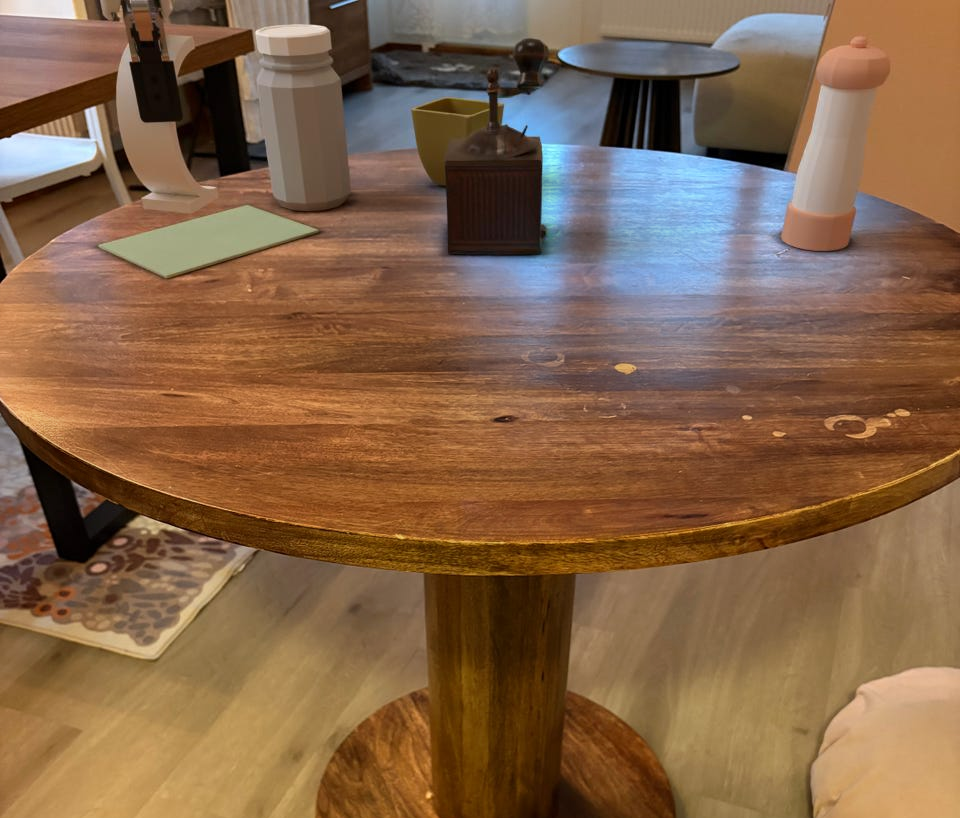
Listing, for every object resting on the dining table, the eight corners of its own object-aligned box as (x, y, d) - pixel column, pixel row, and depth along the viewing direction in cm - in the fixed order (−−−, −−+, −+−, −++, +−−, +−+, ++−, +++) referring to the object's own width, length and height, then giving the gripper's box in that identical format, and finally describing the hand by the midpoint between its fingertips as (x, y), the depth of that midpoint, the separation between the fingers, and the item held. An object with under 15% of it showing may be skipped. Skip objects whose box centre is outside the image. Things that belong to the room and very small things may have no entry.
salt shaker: (792, 226, 106) (833, 29, 93) (856, 236, 103) (907, 34, 90) (772, 244, 101) (812, 39, 89) (838, 255, 98) (889, 45, 86)
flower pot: (448, 171, 124) (446, 95, 118) (504, 179, 121) (505, 102, 115) (413, 187, 118) (409, 108, 112) (471, 196, 115) (470, 116, 109)
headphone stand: (218, 197, 81) (193, 36, 73) (186, 217, 76) (155, 48, 69) (171, 192, 82) (141, 32, 74) (136, 212, 77) (100, 44, 69)
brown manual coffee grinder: (547, 255, 99) (555, 61, 87) (445, 255, 99) (439, 61, 87) (543, 211, 111) (550, 34, 99) (452, 211, 111) (448, 35, 99)
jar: (290, 218, 109) (266, 39, 97) (262, 197, 115) (236, 27, 104) (364, 205, 113) (350, 31, 101) (333, 185, 119) (316, 20, 107)
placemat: (166, 278, 94) (166, 275, 94) (98, 247, 102) (98, 244, 101) (319, 232, 105) (318, 229, 105) (247, 207, 112) (247, 204, 112)
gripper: (56, -182, 68) (114, 91, 80) (39, -187, 56) (111, 137, 67) (160, -179, 70) (202, 88, 81) (167, -183, 57) (215, 132, 69)
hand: (161, 108), depth 74 cm, fingers closed on headphone stand, 7 cm apart
